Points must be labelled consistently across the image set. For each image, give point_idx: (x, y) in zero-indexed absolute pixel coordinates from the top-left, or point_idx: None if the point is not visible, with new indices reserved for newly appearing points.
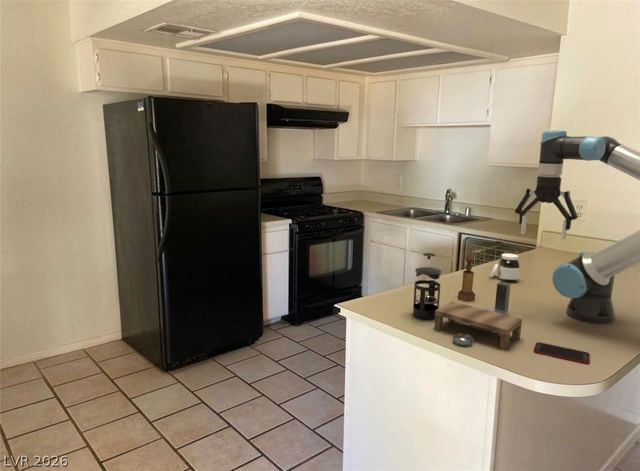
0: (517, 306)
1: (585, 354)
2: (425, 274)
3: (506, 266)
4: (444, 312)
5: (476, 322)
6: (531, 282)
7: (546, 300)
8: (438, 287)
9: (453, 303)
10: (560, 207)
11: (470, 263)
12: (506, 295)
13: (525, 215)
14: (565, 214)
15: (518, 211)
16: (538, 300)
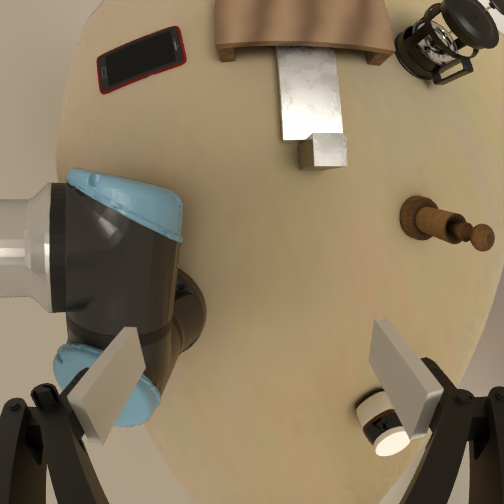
0: (305, 253)
1: (104, 82)
2: None
3: (389, 411)
4: None
5: None
6: (330, 424)
7: (266, 344)
8: (428, 20)
9: (384, 39)
10: (66, 496)
11: (469, 231)
12: (307, 140)
13: (422, 424)
14: (51, 436)
15: (491, 401)
16: (281, 332)
